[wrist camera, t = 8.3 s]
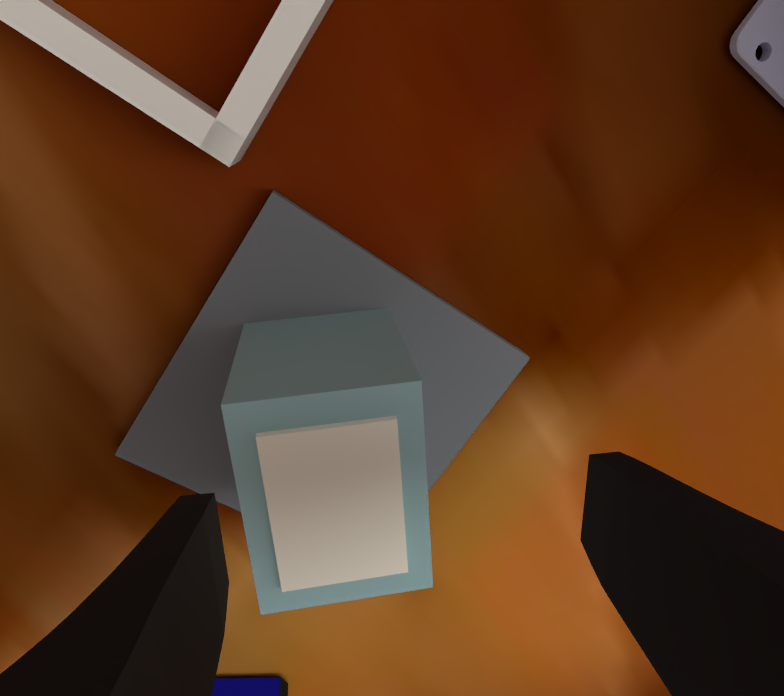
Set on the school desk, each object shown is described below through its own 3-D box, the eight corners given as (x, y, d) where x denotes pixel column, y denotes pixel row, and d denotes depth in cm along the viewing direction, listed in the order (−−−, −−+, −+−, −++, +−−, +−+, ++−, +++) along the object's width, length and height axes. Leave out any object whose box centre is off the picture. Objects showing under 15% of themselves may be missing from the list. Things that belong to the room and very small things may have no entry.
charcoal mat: (524, 351, 21) (530, 358, 20) (367, 558, 23) (368, 569, 22) (273, 189, 18) (272, 191, 17) (119, 445, 20) (114, 455, 19)
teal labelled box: (387, 308, 19) (423, 383, 13) (399, 469, 21) (434, 593, 16) (244, 323, 18) (219, 408, 13) (271, 487, 21) (259, 621, 15)
